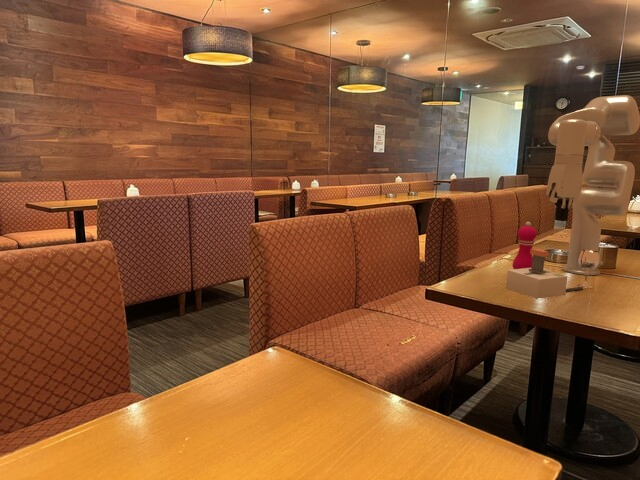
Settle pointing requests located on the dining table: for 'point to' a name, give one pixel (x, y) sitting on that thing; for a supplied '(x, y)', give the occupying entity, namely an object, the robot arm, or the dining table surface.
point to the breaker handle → (538, 260)
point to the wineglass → (588, 263)
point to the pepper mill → (525, 247)
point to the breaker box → (538, 283)
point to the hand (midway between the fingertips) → (560, 220)
